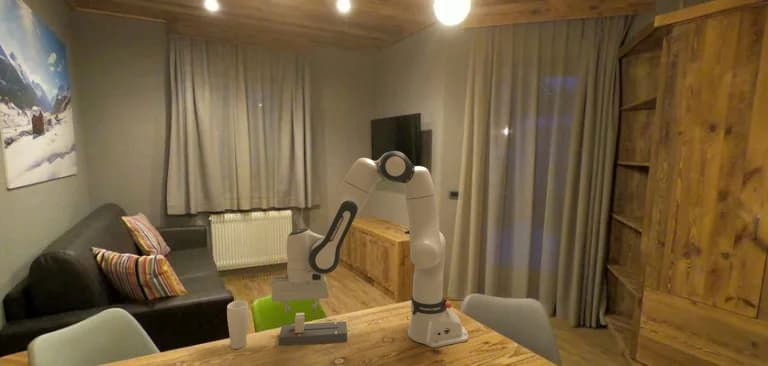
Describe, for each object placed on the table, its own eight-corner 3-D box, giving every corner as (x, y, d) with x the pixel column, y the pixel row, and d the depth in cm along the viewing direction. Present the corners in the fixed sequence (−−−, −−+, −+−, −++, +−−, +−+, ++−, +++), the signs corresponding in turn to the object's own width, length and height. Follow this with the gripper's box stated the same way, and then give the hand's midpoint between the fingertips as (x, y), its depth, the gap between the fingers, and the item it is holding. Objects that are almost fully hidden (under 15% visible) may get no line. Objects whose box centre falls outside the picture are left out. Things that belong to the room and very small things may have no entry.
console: (345, 328, 140) (345, 321, 140) (347, 341, 131) (347, 332, 131) (282, 332, 136) (281, 325, 136) (278, 345, 127) (278, 337, 127)
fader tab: (304, 325, 135) (304, 312, 135) (303, 332, 130) (303, 318, 130) (296, 325, 135) (295, 312, 134) (294, 332, 130) (294, 319, 129)
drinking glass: (241, 352, 123) (240, 309, 122) (223, 349, 124) (222, 307, 123) (252, 341, 130) (251, 301, 128) (235, 339, 131) (234, 299, 130)
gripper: (268, 279, 125) (270, 317, 127) (328, 275, 129) (329, 312, 130) (271, 272, 132) (272, 309, 133) (328, 269, 135) (329, 304, 136)
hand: (301, 310), depth 131 cm, fingers open, 8 cm apart
